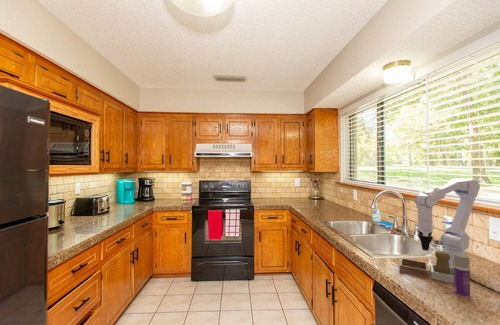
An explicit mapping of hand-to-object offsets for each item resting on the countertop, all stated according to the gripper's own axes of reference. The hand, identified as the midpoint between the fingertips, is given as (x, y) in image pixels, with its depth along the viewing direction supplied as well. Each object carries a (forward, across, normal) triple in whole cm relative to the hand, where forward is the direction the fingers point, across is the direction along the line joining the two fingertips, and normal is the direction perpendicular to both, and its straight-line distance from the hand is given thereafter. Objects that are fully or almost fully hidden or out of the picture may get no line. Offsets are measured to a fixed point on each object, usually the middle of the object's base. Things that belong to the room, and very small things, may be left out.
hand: (425, 247), depth 115 cm
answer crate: (+10, +4, +8) cm, 13 cm away
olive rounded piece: (+11, +4, +6) cm, 13 cm away
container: (+11, +19, +11) cm, 24 cm away
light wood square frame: (+10, +4, -4) cm, 12 cm away
